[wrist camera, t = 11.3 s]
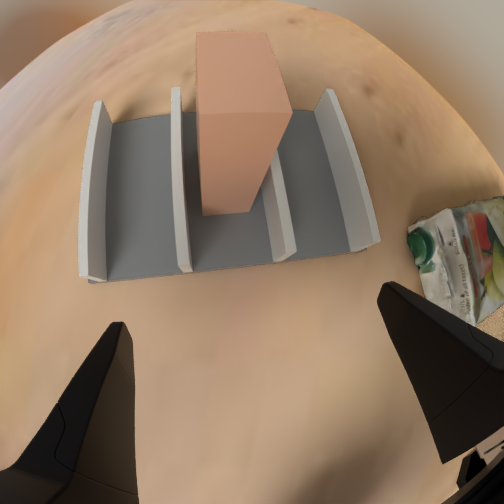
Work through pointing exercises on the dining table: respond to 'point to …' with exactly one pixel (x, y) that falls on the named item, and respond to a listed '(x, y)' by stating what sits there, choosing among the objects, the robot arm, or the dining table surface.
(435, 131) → the dining table surface
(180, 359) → the dining table surface
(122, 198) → the rack
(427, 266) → the juice carton
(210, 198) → the salmon rectangular block
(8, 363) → the dining table surface
